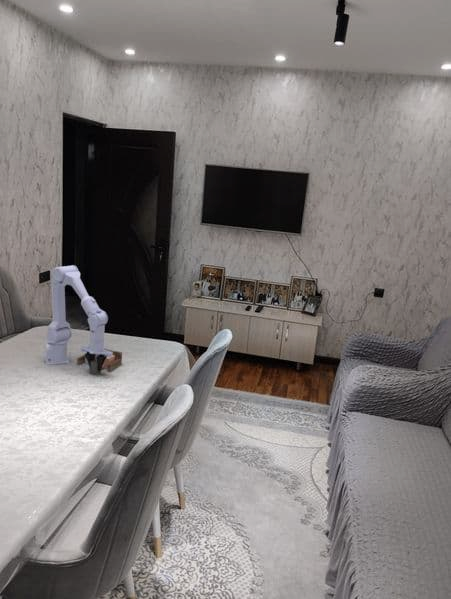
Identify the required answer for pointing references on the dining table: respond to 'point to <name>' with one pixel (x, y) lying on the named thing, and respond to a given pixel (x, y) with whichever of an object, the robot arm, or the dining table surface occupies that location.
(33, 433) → the dining table surface
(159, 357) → the dining table surface
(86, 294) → the robot arm
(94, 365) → the block
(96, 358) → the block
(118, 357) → the shelf lanes
